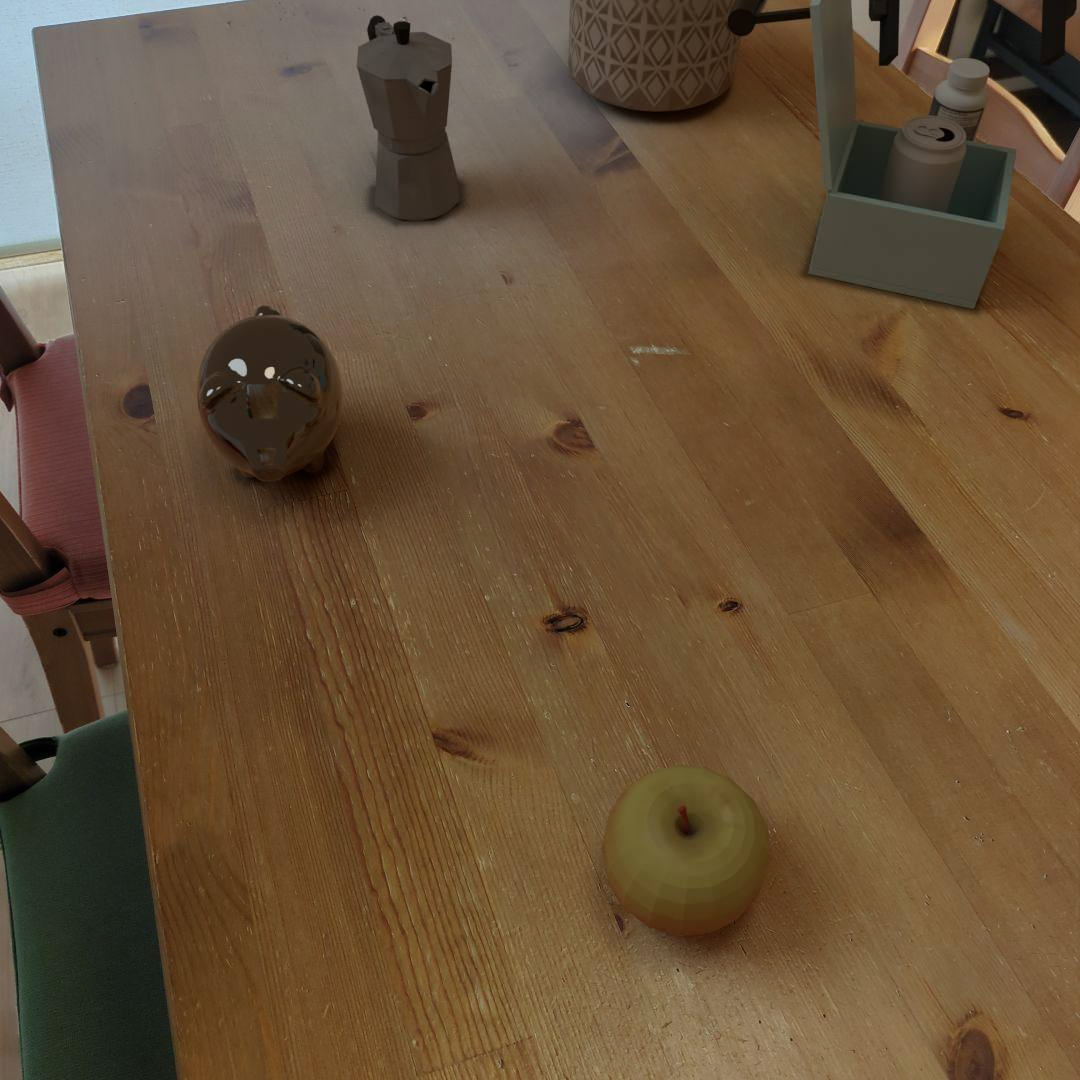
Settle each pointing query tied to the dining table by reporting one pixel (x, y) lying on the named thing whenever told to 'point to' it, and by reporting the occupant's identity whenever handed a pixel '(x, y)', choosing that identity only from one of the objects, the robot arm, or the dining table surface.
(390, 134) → the coffeepot
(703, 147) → the dining table surface
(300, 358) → the piggy bank
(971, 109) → the pill bottle
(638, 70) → the planter
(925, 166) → the beverage can
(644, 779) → the apple
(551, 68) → the dining table surface
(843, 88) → the lid
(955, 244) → the open box
